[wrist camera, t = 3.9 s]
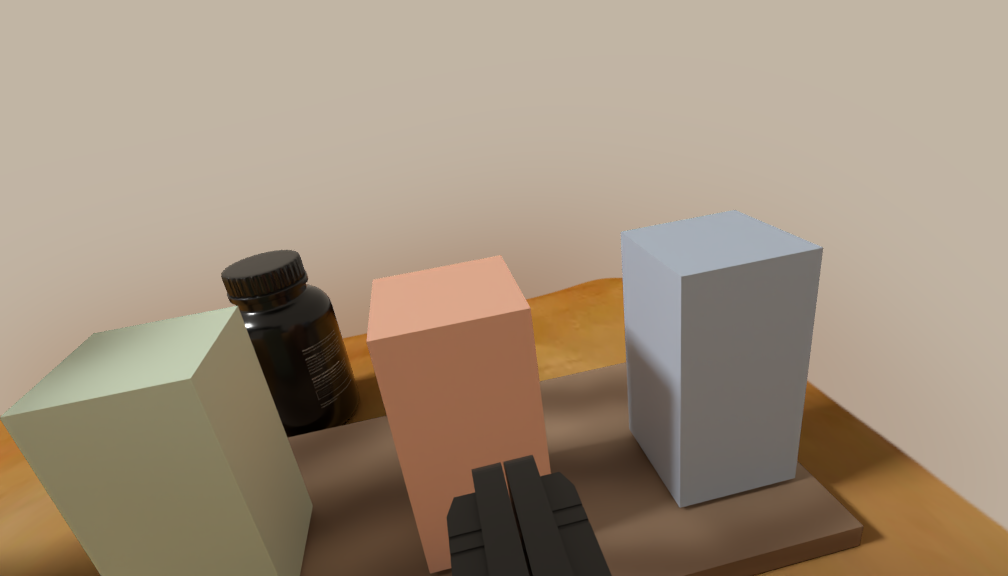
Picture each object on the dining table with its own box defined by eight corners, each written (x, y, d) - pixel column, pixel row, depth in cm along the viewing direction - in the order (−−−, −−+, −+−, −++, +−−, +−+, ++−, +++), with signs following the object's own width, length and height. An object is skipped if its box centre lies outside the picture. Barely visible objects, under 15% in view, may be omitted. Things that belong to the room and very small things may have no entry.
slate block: (795, 477, 26) (823, 247, 21) (680, 507, 25) (681, 276, 20) (725, 406, 31) (735, 210, 26) (629, 429, 31) (620, 231, 26)
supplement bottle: (346, 376, 43) (305, 235, 38) (373, 418, 37) (329, 260, 32) (257, 410, 40) (200, 263, 35) (272, 461, 34) (206, 295, 30)
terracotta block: (559, 539, 24) (530, 308, 20) (430, 573, 24) (366, 341, 19) (529, 453, 30) (500, 255, 25) (423, 478, 29) (372, 279, 24)
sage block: (293, 609, 23) (190, 378, 18) (147, 648, 22) (-1, 417, 17) (312, 505, 28) (237, 305, 24) (195, 533, 28) (93, 333, 23)
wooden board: (859, 545, 24) (863, 525, 23) (102, 757, 20) (88, 740, 20) (684, 363, 38) (684, 349, 38) (224, 467, 35) (218, 453, 34)
